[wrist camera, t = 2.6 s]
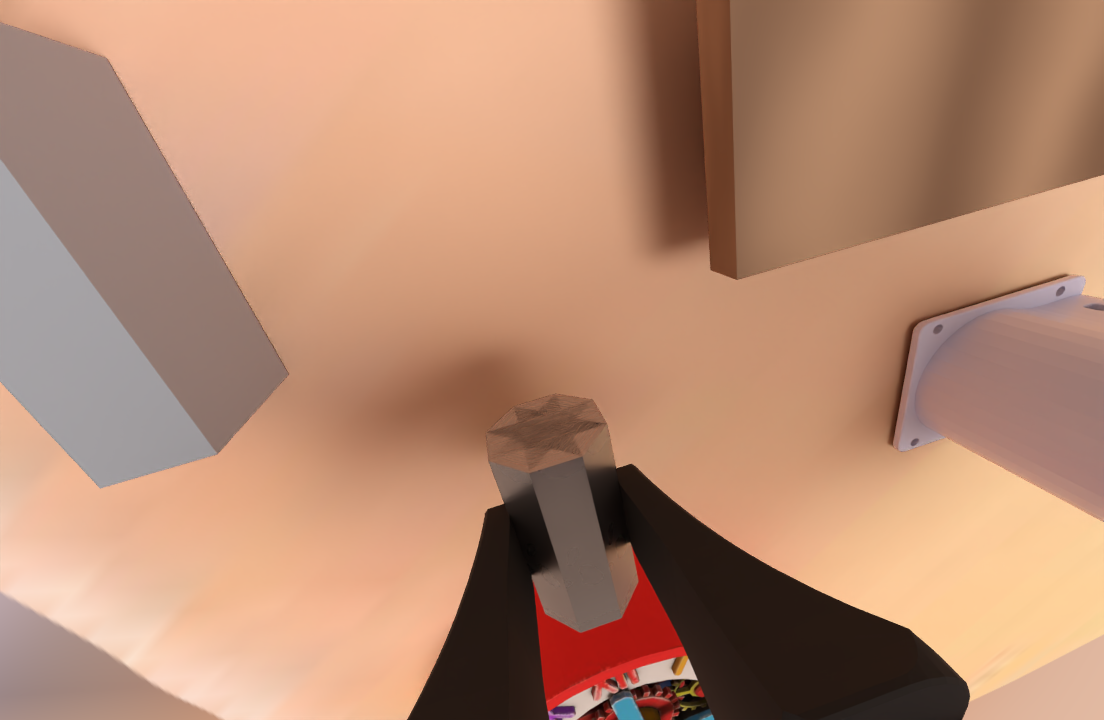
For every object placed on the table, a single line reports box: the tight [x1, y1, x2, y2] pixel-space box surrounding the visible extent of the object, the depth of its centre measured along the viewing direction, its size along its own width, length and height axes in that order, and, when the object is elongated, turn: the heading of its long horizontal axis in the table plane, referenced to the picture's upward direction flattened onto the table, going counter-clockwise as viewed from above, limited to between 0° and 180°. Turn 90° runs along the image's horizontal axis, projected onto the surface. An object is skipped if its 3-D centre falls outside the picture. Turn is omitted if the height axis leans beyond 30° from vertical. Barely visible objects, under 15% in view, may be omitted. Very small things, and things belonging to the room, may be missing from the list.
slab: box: [696, 0, 1104, 280], centre depth 12 cm, size 16×9×2 cm, turn 103°
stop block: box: [0, 22, 289, 488], centre depth 11 cm, size 3×10×5 cm, turn 13°
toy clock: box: [533, 548, 714, 720], centre depth 25 cm, size 20×6×20 cm
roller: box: [486, 394, 639, 633], centre depth 12 cm, size 3×6×3 cm, turn 13°
